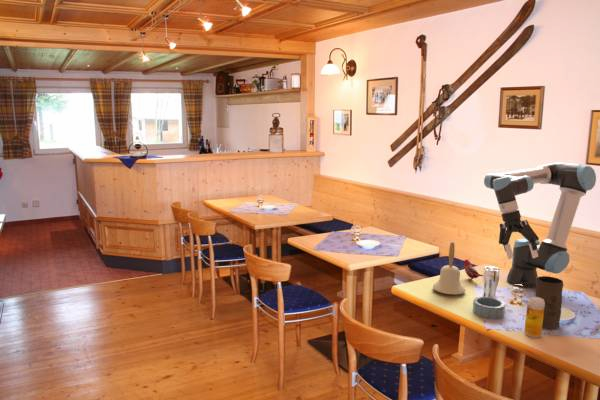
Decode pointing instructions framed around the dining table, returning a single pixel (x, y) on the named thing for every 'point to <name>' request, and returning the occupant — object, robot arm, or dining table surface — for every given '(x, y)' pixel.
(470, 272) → the decorative bird figurine
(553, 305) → the beer stein
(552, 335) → the dining table surface
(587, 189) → the robot arm
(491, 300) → the round grey ashtray
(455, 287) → the handbell
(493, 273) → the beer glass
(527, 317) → the glass of beer
